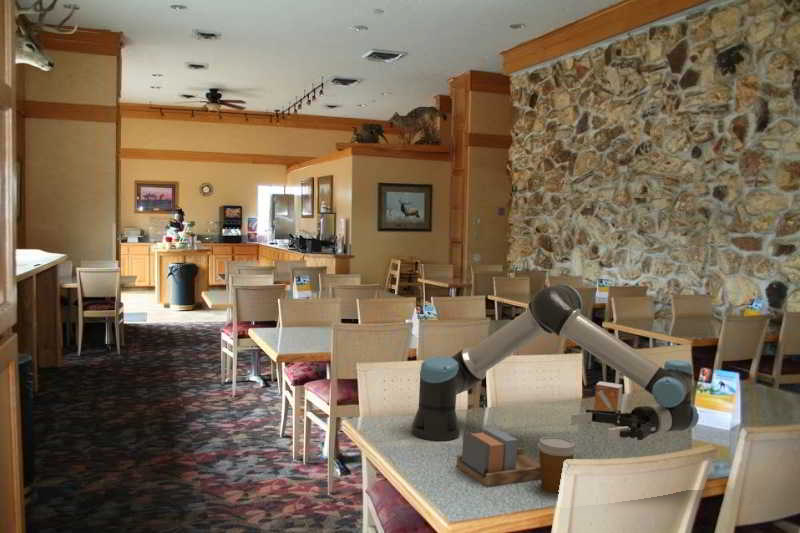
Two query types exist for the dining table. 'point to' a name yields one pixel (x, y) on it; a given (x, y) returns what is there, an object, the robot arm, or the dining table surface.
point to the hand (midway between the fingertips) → (589, 426)
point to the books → (499, 449)
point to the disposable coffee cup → (553, 460)
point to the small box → (608, 396)
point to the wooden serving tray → (509, 471)
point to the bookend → (475, 454)
